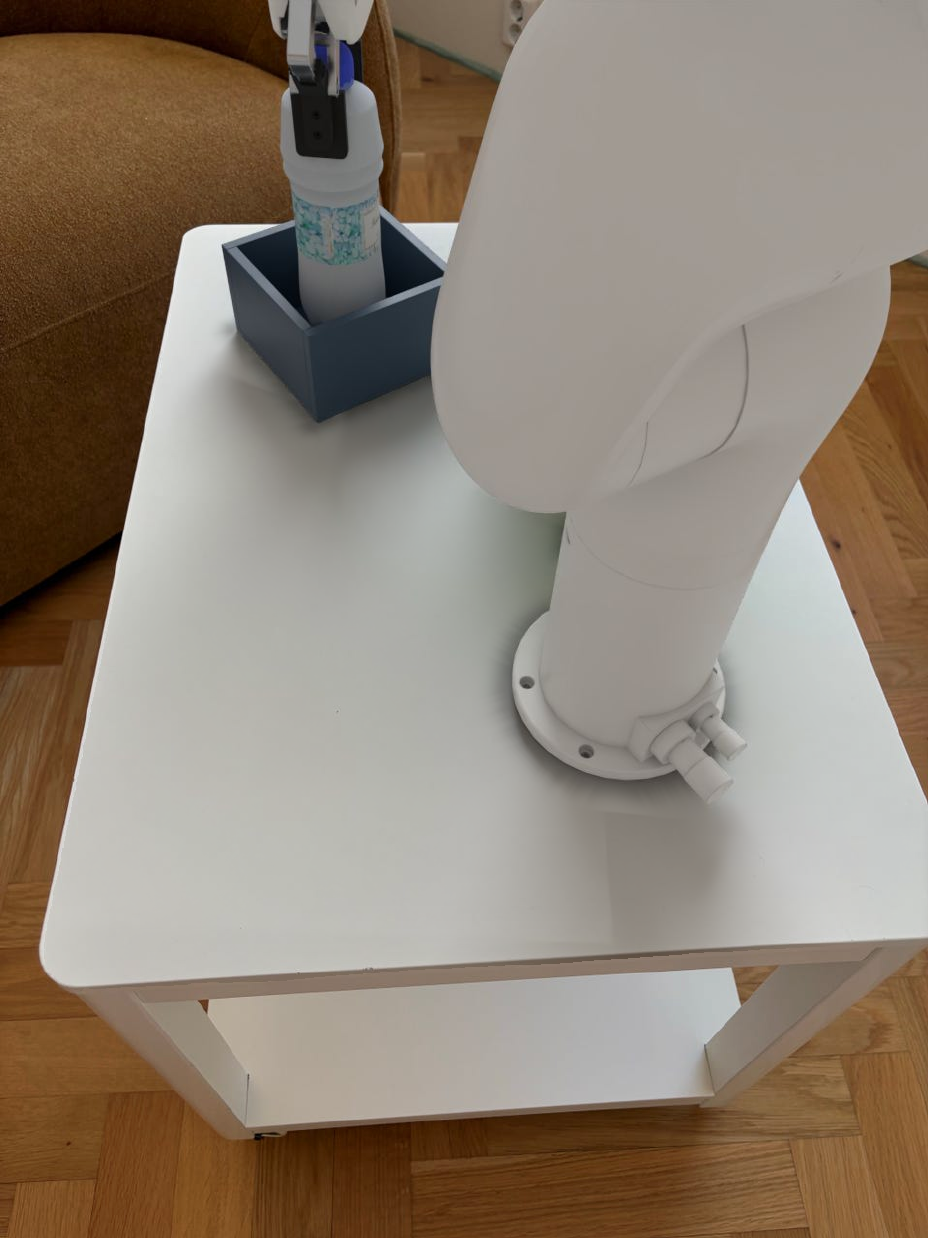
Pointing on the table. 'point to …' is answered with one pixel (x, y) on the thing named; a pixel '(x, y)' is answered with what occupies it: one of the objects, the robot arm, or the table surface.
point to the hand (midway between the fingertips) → (331, 125)
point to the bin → (336, 319)
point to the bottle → (338, 207)
